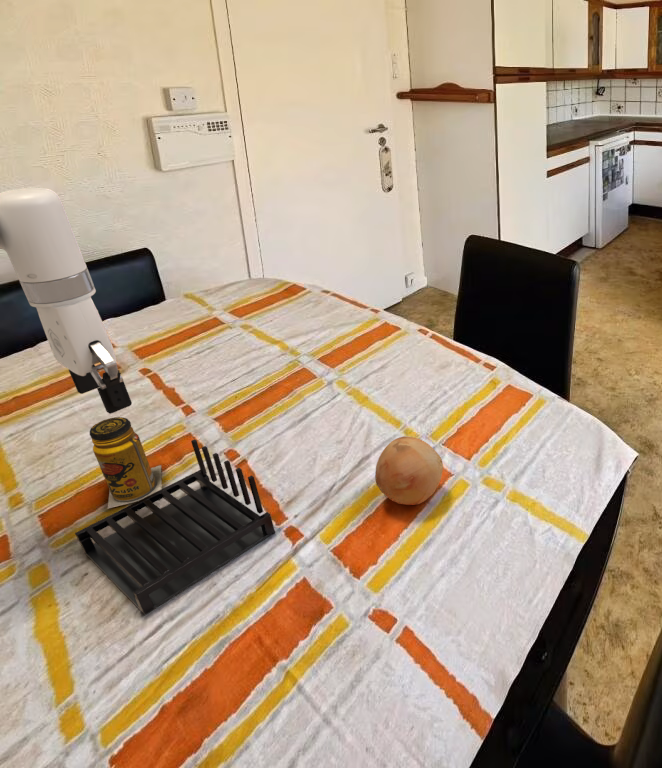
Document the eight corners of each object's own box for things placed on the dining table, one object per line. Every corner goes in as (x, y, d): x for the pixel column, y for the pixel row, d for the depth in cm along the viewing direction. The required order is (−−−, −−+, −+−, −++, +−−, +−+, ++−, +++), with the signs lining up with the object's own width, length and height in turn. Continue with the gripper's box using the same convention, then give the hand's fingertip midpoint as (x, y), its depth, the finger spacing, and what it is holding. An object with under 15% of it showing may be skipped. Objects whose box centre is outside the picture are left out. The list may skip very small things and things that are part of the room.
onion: (456, 503, 92) (451, 447, 87) (392, 527, 88) (383, 469, 83) (430, 470, 99) (425, 417, 95) (370, 490, 95) (361, 436, 91)
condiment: (107, 509, 93) (79, 442, 87) (111, 479, 99) (85, 415, 94) (162, 495, 95) (138, 429, 90) (161, 466, 102) (139, 403, 96)
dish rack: (144, 615, 75) (119, 557, 71) (83, 551, 85) (57, 497, 80) (275, 532, 87) (261, 478, 83) (208, 485, 97) (192, 435, 93)
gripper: (3, 283, 84) (53, 393, 92) (52, 309, 74) (103, 429, 83) (64, 267, 89) (106, 373, 97) (118, 290, 80) (159, 405, 88)
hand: (105, 399), depth 90 cm, fingers open, 9 cm apart
